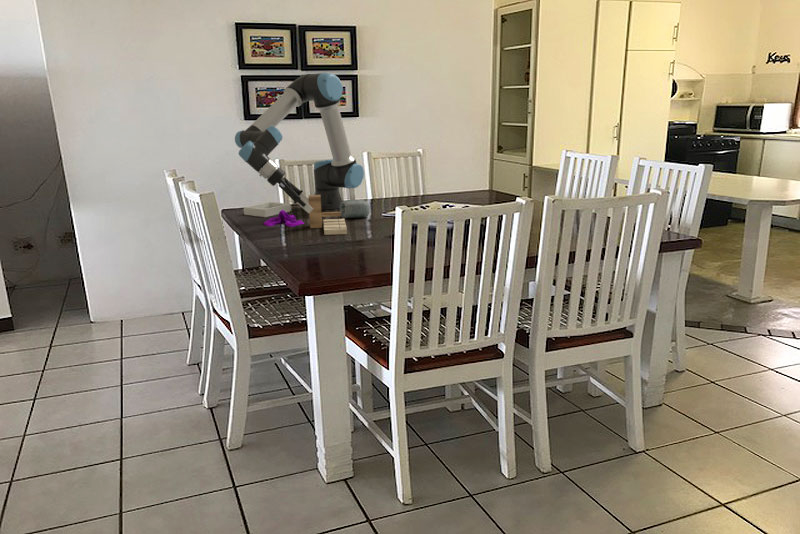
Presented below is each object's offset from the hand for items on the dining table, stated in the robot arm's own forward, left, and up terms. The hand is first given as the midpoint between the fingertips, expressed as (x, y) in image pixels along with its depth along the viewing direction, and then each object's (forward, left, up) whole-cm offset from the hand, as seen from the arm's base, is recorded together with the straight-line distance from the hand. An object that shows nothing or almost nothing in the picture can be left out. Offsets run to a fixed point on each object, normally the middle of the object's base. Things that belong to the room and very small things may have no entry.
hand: (311, 208), depth 263 cm
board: (-2, +11, -8) cm, 14 cm away
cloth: (-2, -18, -9) cm, 20 cm away
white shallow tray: (-14, -41, -8) cm, 44 cm away
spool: (-25, +3, -8) cm, 27 cm away
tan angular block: (-4, +4, -8) cm, 10 cm away
